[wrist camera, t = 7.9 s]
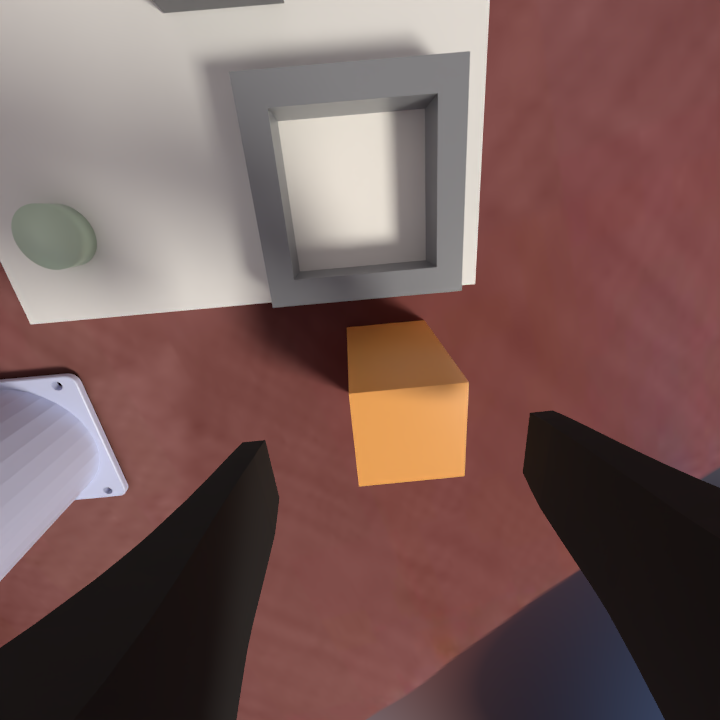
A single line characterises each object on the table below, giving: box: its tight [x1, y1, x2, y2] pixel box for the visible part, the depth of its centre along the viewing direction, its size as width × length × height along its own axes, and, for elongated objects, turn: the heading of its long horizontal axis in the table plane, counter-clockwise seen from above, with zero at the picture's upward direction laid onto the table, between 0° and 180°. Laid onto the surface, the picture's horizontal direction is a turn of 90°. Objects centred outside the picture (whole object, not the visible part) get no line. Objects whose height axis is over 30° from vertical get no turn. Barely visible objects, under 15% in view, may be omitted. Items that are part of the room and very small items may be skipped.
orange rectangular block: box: [347, 320, 469, 486], centre depth 16 cm, size 4×4×7 cm
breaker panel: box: [0, 0, 490, 324], centre depth 12 cm, size 20×16×4 cm
